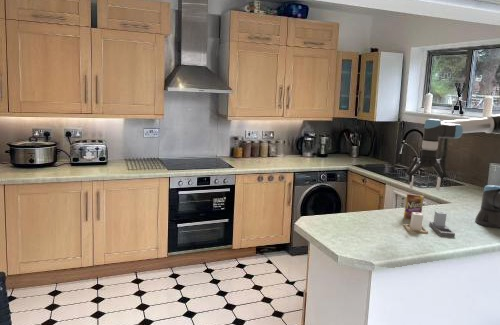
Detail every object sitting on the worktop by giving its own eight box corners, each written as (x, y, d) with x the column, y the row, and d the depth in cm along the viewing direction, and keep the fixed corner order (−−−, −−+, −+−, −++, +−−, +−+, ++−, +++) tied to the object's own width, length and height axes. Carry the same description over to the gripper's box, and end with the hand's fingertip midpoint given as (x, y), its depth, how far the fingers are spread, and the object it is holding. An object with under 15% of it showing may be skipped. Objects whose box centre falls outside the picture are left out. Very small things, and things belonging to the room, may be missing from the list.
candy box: (403, 219, 241) (406, 194, 239) (404, 217, 245) (407, 192, 242) (419, 222, 237) (423, 196, 234) (420, 220, 241) (424, 195, 238)
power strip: (425, 222, 238) (425, 216, 237) (437, 224, 237) (438, 217, 236) (439, 237, 213) (440, 231, 212) (454, 239, 212) (455, 232, 212)
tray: (421, 229, 225) (422, 225, 225) (427, 235, 215) (428, 231, 215) (402, 227, 226) (403, 223, 226) (407, 233, 216) (408, 229, 216)
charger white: (418, 229, 223) (420, 212, 221) (420, 231, 218) (423, 215, 217) (409, 228, 223) (412, 211, 222) (412, 230, 219) (414, 214, 217)
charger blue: (441, 227, 228) (443, 211, 226) (444, 229, 223) (446, 213, 222) (432, 226, 228) (435, 210, 227) (435, 229, 224) (437, 212, 222)
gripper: (451, 149, 217) (446, 189, 221) (402, 146, 219) (398, 185, 223) (457, 151, 210) (451, 192, 214) (406, 148, 212) (401, 188, 216)
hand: (424, 189), depth 218 cm, fingers open, 13 cm apart
